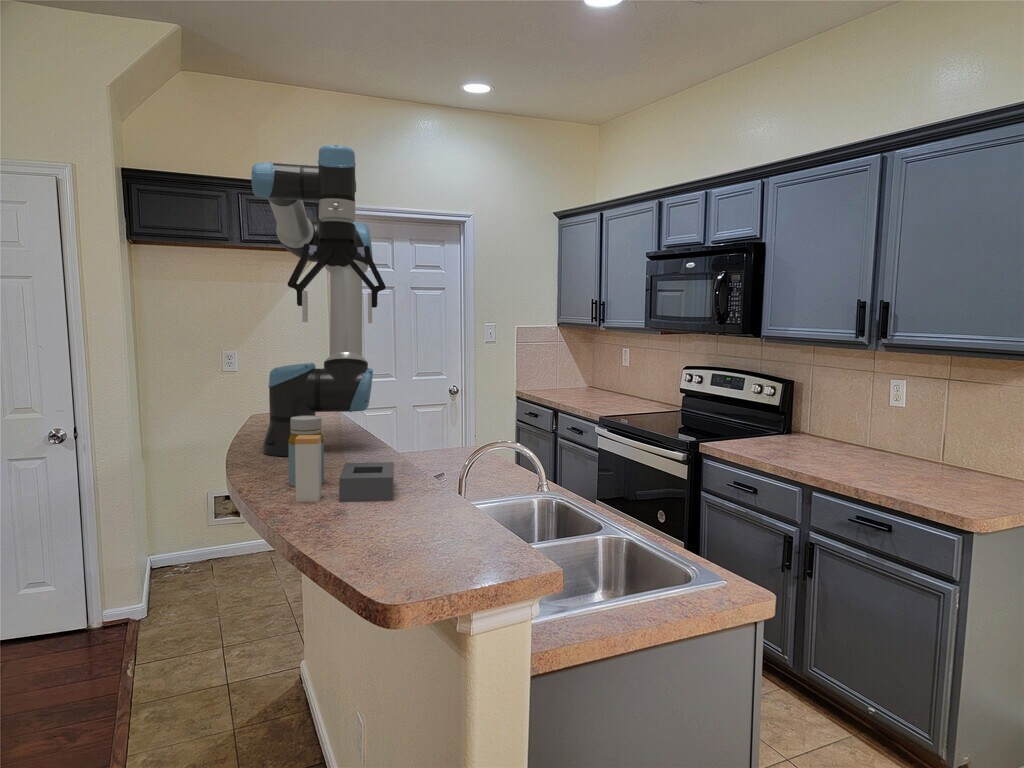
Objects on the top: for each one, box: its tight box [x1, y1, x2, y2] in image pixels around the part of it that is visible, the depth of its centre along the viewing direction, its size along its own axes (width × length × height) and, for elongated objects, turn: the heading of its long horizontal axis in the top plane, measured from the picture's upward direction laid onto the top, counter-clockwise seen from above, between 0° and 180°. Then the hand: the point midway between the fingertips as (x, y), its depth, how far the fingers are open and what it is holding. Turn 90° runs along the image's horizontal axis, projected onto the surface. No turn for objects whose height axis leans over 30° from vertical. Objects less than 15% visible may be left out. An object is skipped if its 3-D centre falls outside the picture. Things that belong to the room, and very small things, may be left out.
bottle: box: [288, 415, 325, 489], centre depth 140 cm, size 7×7×15 cm
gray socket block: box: [338, 461, 395, 503], centre depth 135 cm, size 14×10×6 cm
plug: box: [295, 435, 322, 503], centre depth 129 cm, size 4×4×13 cm
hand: (337, 322), depth 145 cm, fingers open, 13 cm apart
